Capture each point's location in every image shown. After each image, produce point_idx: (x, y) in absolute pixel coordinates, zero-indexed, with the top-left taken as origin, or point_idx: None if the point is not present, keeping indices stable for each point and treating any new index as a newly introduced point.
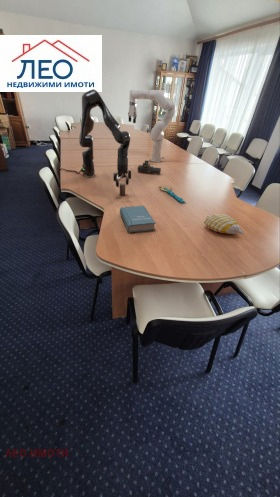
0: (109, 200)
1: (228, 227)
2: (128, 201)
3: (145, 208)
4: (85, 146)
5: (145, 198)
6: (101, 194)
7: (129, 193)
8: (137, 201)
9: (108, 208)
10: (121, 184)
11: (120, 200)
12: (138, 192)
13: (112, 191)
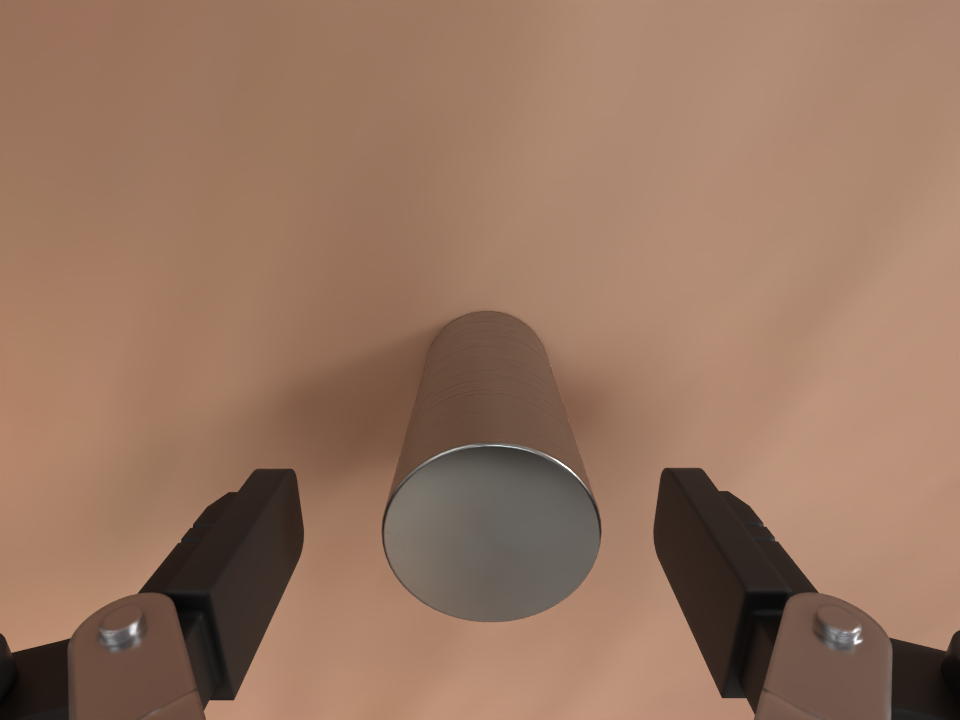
0: (125, 441)
1: None
2: (421, 616)
3: None
4: None
5: None
6: (48, 73)
7: (675, 372)
8: (548, 675)
9: (12, 647)
10: (413, 573)
11: (318, 532)
12: (868, 425)
13: (402, 47)
